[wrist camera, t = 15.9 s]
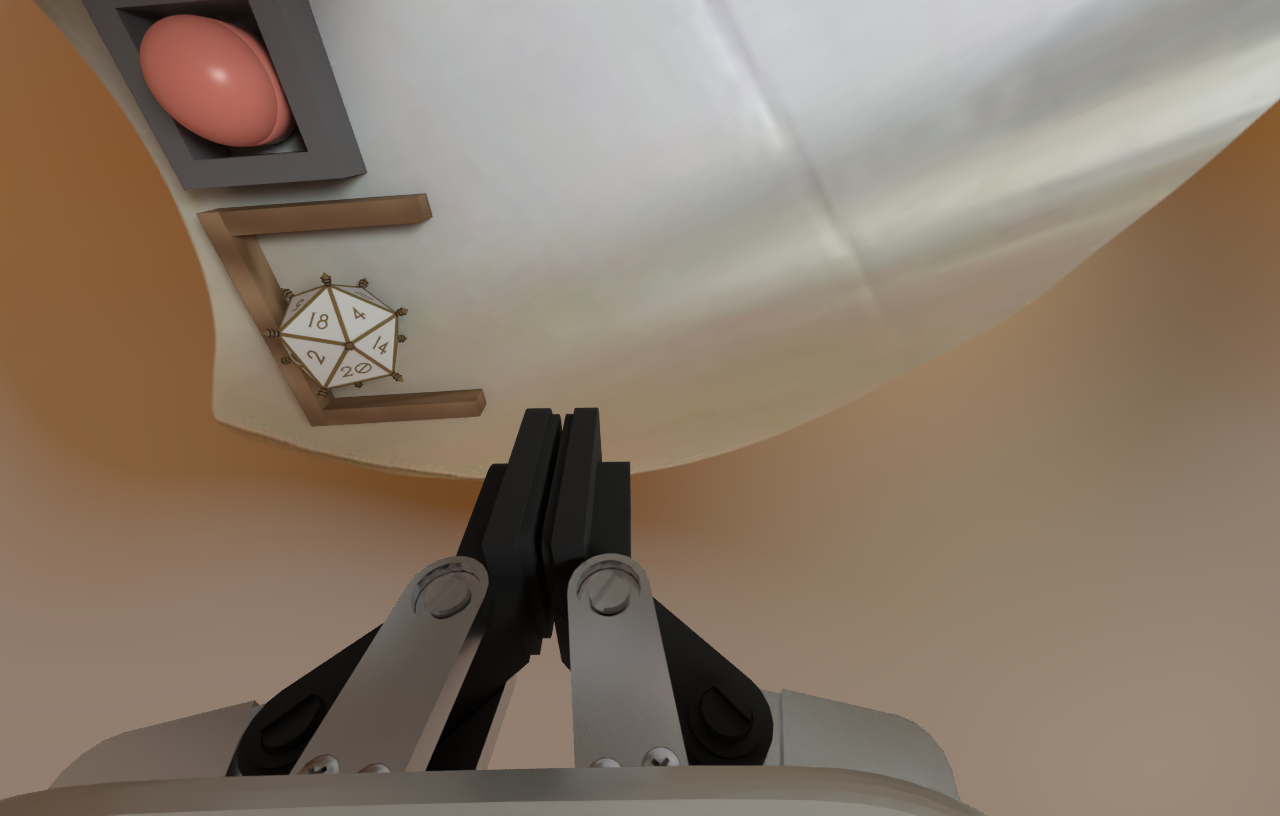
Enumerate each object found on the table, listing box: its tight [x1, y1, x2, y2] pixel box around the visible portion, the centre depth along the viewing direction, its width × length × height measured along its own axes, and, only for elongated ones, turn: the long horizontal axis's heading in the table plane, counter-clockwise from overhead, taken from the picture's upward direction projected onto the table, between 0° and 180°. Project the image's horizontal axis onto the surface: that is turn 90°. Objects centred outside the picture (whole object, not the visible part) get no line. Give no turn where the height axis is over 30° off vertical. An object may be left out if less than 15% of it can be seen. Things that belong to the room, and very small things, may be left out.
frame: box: [196, 193, 486, 426], centre depth 35 cm, size 17×14×2 cm
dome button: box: [140, 14, 297, 147], centre depth 26 cm, size 6×6×6 cm
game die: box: [261, 273, 408, 401], centre depth 33 cm, size 9×8×10 cm
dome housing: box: [82, 0, 367, 190], centre depth 27 cm, size 10×10×3 cm
